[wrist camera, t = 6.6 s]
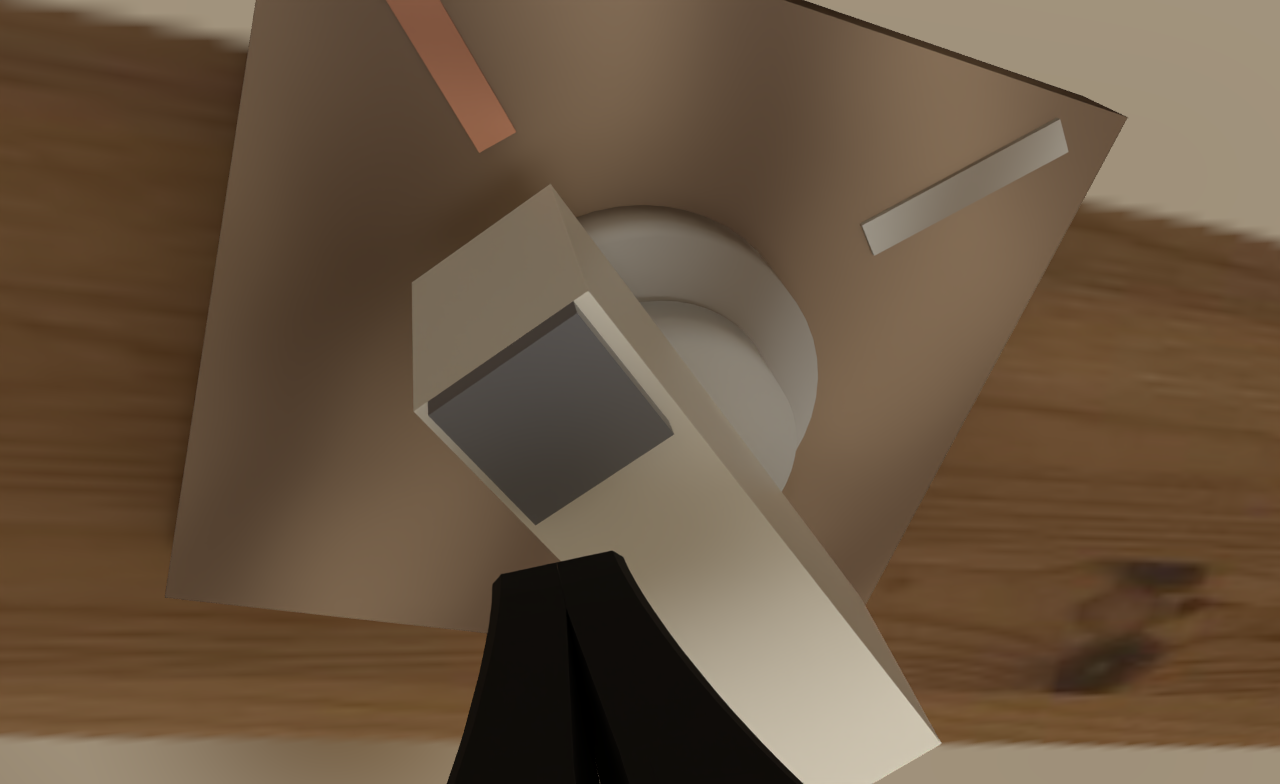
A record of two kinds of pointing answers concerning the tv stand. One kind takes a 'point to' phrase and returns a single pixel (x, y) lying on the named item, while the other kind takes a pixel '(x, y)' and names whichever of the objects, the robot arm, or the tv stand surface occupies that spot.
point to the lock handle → (659, 479)
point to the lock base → (592, 136)
